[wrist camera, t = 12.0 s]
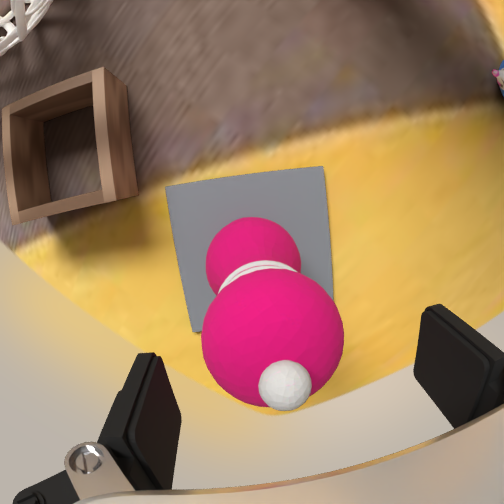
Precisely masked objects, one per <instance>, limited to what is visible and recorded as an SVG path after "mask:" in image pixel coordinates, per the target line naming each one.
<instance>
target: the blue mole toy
mask: <svg viewBox="0 0 504 504" xmlns="http://www.w3.org/2000/svg"><path fill="white" fill-rule="evenodd" d="M492 74H493V76H495V77H496V78H497V83H498V84H499V87H500V90H501V93H502V95H503V97H504V60H503V61H502V63H501V65H500V67H499V70H495V69H494V70H492Z"/></svg>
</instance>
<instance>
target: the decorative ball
mask: <svg viewBox="0 0 504 504" xmlns="http://www.w3.org/2000/svg"><path fill="white" fill-rule="evenodd" d="M10 1H11V9H12V10H11V11H10V12H9V13H8V14H7V15H6V16H4V17H2V16H0V27H1V26H2V27H3V28H4V29H5V30H6V31H7V35H6V37H0V41H1V42H0V56H2V55H3V54H5V53H6V52H7V50H8V49H10V48H12V47H13V46H14V45H16V44H17V43H18V42H21V41H23V40H24V39H25V38H26V36H27V35H28V34H29V33H30V32H31V31H32V29H33V28H34V27H35V26H36V25H37V24H38V23H39V22H40V20H41V19H42V18H43V17H44V15H45V14H46V12H47V11H48V9H49V7H50V4H51V3H52V2H53V1H54V0H10ZM25 3H31V5H30V6H29V8H28V9H27V11H26V12H25ZM14 16H15V18H16V27H15V26H14V24H12V23H11V22H10V21H9V20H11V19H12V18H13V17H14ZM17 36H18V37H17ZM16 37H17V38H16Z"/></svg>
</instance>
